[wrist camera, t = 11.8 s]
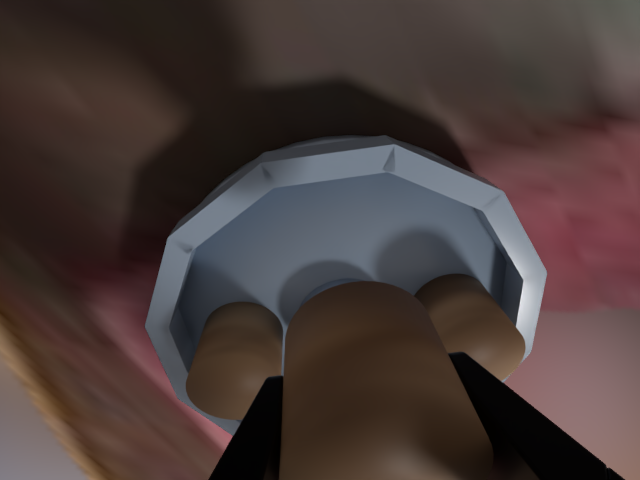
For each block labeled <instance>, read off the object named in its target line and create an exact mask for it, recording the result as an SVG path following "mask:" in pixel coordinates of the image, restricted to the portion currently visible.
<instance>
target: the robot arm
mask: <svg viewBox="0 0 640 480" xmlns="http://www.w3.org/2000/svg"><path fill="white" fill-rule="evenodd" d="M448 355H449V357H450V359H451V361H452V363H453V365H454V368H455V370H456V372H457V374H458V376H459V378H460V380H461V382H462V384H463V386H464V388H465V390H466V392H467V394H468V396H469V398H470V400H471V402H472V404H473V406H474V409H475V411H476V413H477V415H478V417H479V419H480V421H481V423H482V425H483V427H484V429H485V431H486V433H487V435H488V437H489V440H490V442H491V444H492V447H493V453H494V457H493V465H492V469H491V471H490V474H489V476H488V478H487V479H486V480H625V479H623V478H622V477H621V476H620V475H618V474H617V473H616V472H614V471H613V470H612V469H611V468H607V467H606V465H605V464H604V463H603V462H602V461H601V460H599V459H598V458H597V457H596V456H594V455H593V454H592V453H591V452H589V451H588V450H587V449H585V448H584V447H583V446H582V445H580V444H579V443H578V442H577V441H575V440H574V439H573V438H572V437H571V436H569V435H568V434H567V433H566V432H564V431H563V430H562V429H560V428H559V427H558V426H557V425H555V424H554V423H553V422H552V421H550V420H549V419H548V418H547V417H545V416H544V415H543V414H542V413H540V412H539V411H538V410H536V409H535V408H534V407H533V406H532V405H530V404H529V403H528V402H527V401H525V400H524V399H523V398H522V397H520V396H519V395H518V394H517V393H515V392H514V391H513V390H512V389H510V388H509V387H508V386H507V385H505V384H504V383H503V382H502V381H500V380H499V379H498V378H497V377H495V376H494V375H493V374H491V373H490V372H489V371H488V370H486V369H485V368H484V367H483V366H481V365H480V364H479V363H478V362H476V361H475V360H474V359H473V358H471V357H470V356H469V355H468V354H466V353H465V352H453V353H448ZM282 400H283V376H282V375H278V376H270V377H267V378H266V379H265V381H264V383H263V385H262V386H261V388H260V390H259V392H258V393H257V395H256V397H255V399H254V400H253V402H252V404H251V406H250V407H249V409H248V411H247V413H246V414H245V416H244V418H243V420H242V421H241V423H240V425H239V427H238V428H237V430H236V432H235V434H234V435H233V437H232V439H231V441H230V442H229V444H228V446H227V448H226V450H225V451H224V453H223V455H222V457H221V458H220V460H219V462H218V464H217V465H216V467H215V469H214V471H213V472H212V474H211V476H210V478H209V479H208V480H279V470H280V446H281V423H282Z"/></svg>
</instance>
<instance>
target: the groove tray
mask: <svg viewBox="0 0 640 480" xmlns="http://www.w3.org/2000/svg"><path fill="white" fill-rule="evenodd" d="M447 274H466V275H469V276H472V277H474V278H476V279H477V280H479V281H480V282H481V283H482V285H483V286H484V287H485V288H486V290H487V291H488V292H489V293H490V295H491V296H492V297H493V299H494V300H495V301H496V302H497V304H498V305H499V306H500V307H501V309H502V310H503V311H504V313H505V314H506V315H507V316H508V318H509V319H510V320H511V321H512V323H513V324H514V325H515V327H516V328H517V329H518V330H519V332H520V333H521V334H522V336H523V338H524V340H525V346H526V349H525V354H524V357H523V359H522V361H523V360H524V359H525V358H526V357H527V356H528V355H529V354H530V353H531V349H532V345H533V340H534V335H535V330H536V325H537V320H538V315H539V310H540V305H541V301H542V296H543V291H544V286H545V281H546V276H547V271H546V269H545V267H544V266H543V264H542V262H541V260H540V258H539V256H538V254H537V253H536V251H535V249H534V247H533V245H532V243H531V241H530V240H529V238H528V236H527V234H526V232H525V230H524V229H523V227H522V225H521V223H520V221H519V219H518V217H517V216H516V214H515V212H514V210H513V208H512V206H511V204H510V203H509V201H508V199H507V197H506V195H505V193H504V192H503V191H502V190H501V189H499V188H498V187H497V186H495V185H494V184H492V183H491V182H490V181H488V180H487V179H485V178H483V177H481V176H478V175H476V174H474V173H471V172H469V171H467V170H465V169H462V168H460V167H458V166H455V165H454V164H452V163H451V162H450V161H448V160H446V159H444V158H442V157H440V156H438V155H436V154H434V153H433V152H431V151H429V150H426V149H423V148H421V147H418V146H415V145H412V144H409V143H406V142H403V141H398V140H396V139H394V138H391V137H389V136H387V135H382V136H363V135H340V136H327V137H319V138H315V139H310V140H305V141H300V142H296V143H293V144H290V145H287V146H284V147H281V148H279V149H276V150H273V151H268V152H264V153H262V154H261V155H260V156H259V157H258V158H256V159H254V160H252V161H250V162H248V163H246V164H245V165H244V166H242V167H241V168H239V169H238V170H236V171H235V172H234V173H232V174H231V175H229V176H228V177H226V178H225V179H224V180H223V181H222V182H221V183H220V184H219V185H218V186H216V187H215V188H214V189H213V190H212V191H211V192H210V193H209V194H208V195H207V196H206V197H205V199H204V200H203V201H202V202H201V204H199V205H198V206H197V207H196V208H194V209H193V210H192V211H191V212H189V213H188V214H187V215H186V216H184V217H183V218H182V219H181V220H180V221H179V222H178V223H177V225H176V226H175V228H174V229H173V231H172V232H171V234H170V235H169V237H168V239H167V242H166V246H165V250H164V254H163V258H162V262H161V266H160V269H159V273H158V277H157V281H156V285H155V289H154V293H153V296H152V300H151V304H150V308H149V312H148V316H147V319H146V323H145V329H146V331H147V333H148V335H149V337H150V339H151V342H152V344H153V346H154V348H155V350H156V352H157V355H158V357H159V359H160V361H161V363H162V365H163V367H164V370H165V372H166V374H167V376H168V378H169V380H170V383H171V385H172V387H173V389H174V391H175V393H176V396H177V398H178V399H179V400H181V401H182V402H184V403H185V404H187V405H188V406H190V407H191V408H192V409H194V410H195V411H197V412H198V413H200V414H201V415H203V416H204V417H206V418H207V419H209V420H210V421H212V422H213V423H215V424H216V425H218V426H219V427H221V428H222V429H224V430H225V431H227V432H228V433H230V434H231V435H234V434H235V432H236V430H237V428H238V427H239V425H240V423H241V421H242V420H243V419H242V420H228V419H221V418H217V417H214V416H211V415H209V414H207V413H205V412H203V411H201V410H200V409H198V408H197V407H196V406H195V405H194V404H193V403H192V402H191V401H190V399H189V397H188V395H187V392H186V380H187V377H188V374H189V371H190V368H191V364H192V361H193V358H194V355H195V352H196V349H197V346H198V343H199V340H200V337H201V334H202V331H203V328H204V325H205V322H206V320H207V318H208V317H209V315H210V314H211V313H212V312H213V311H214V310H215V309H217V308H219V307H220V306H222V305H225V304H228V303H232V302H252V303H256V304H259V305H262V306H264V307H266V308H268V309H269V310H271V311H272V312H273V313H274V314H275V315H276V316H277V317H278V318H279V320H280V322H281V324H282V327H283V349H282V370H281V375H282V376H284V353H285V336H286V331H287V328H288V325H289V323H290V321H291V319H292V318H293V316H294V314H295V313H296V312H297V311H298V309H299V308H300V307H301V306H302V305H303V304H304V303H305V302H307V301H308V300H309V299H311V298H312V297H313V296H315V295H317V294H318V293H320V292H322V291H324V290H326V289H328V288H331V287H334V286H337V285H340V284H344V283H349V282H357V281H376V282H383V283H387V284H391V285H394V286H397V287H399V288H402V289H404V290H405V291H407V292H409V293H411V294H412V295H413V296H414V295H415V294H416V292H417V291H418V290H419V289H420V288H421V287H422V286H423V285H425V284H426V283H427V282H429V281H431V280H433V279H434V278H437V277H439V276H443V275H447ZM522 361H521V363H522ZM521 363H520V364H521ZM510 375H511V374H510ZM510 375H509V376H510ZM509 376H508V377H509ZM508 377H507V378H508ZM507 378H505V379H504V380H502V382H504V381H505V380H506V379H507Z"/></svg>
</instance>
